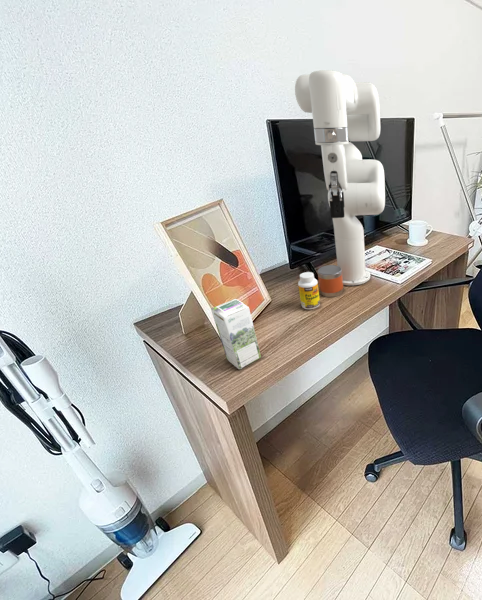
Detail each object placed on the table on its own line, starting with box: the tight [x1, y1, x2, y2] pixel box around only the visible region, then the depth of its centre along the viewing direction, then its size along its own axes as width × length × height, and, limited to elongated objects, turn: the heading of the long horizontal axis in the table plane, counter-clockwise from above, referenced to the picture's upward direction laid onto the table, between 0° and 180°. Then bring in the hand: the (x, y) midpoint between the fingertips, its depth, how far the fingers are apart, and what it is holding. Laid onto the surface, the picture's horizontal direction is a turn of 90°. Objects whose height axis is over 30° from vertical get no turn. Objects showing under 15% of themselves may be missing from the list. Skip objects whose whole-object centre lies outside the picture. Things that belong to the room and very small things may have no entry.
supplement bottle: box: [297, 271, 321, 311], centre depth 95 cm, size 6×6×10 cm
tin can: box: [317, 264, 344, 298], centre depth 103 cm, size 8×8×8 cm
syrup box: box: [210, 298, 262, 371], centre depth 73 cm, size 6×6×14 cm
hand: (338, 212), depth 82 cm, fingers open, 9 cm apart
